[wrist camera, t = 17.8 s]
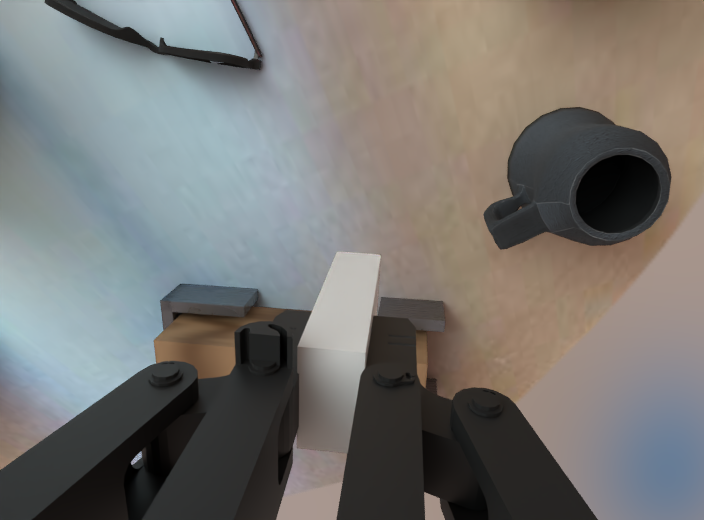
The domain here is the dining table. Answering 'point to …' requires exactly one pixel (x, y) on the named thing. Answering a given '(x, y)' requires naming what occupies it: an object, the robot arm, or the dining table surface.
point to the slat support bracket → (207, 301)
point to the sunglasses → (69, 7)
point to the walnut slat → (230, 341)
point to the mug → (580, 181)
